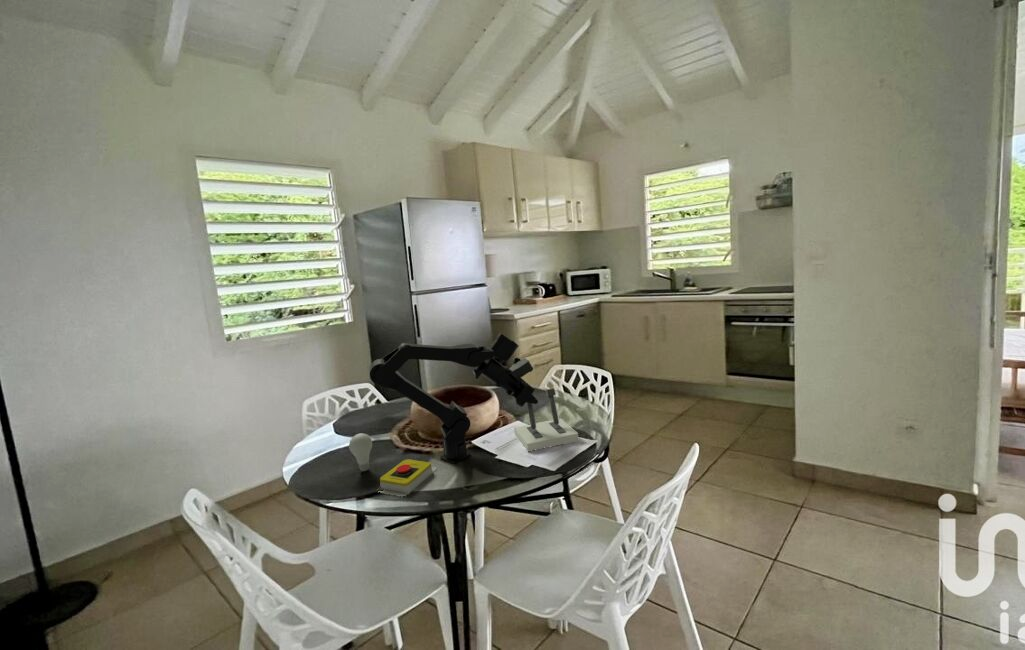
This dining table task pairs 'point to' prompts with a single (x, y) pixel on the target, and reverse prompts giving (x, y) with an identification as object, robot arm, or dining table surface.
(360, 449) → the lightbulb
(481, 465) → the dining table surface
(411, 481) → the emergency button
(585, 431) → the dining table surface
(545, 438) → the breaker panel
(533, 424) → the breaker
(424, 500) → the dining table surface
